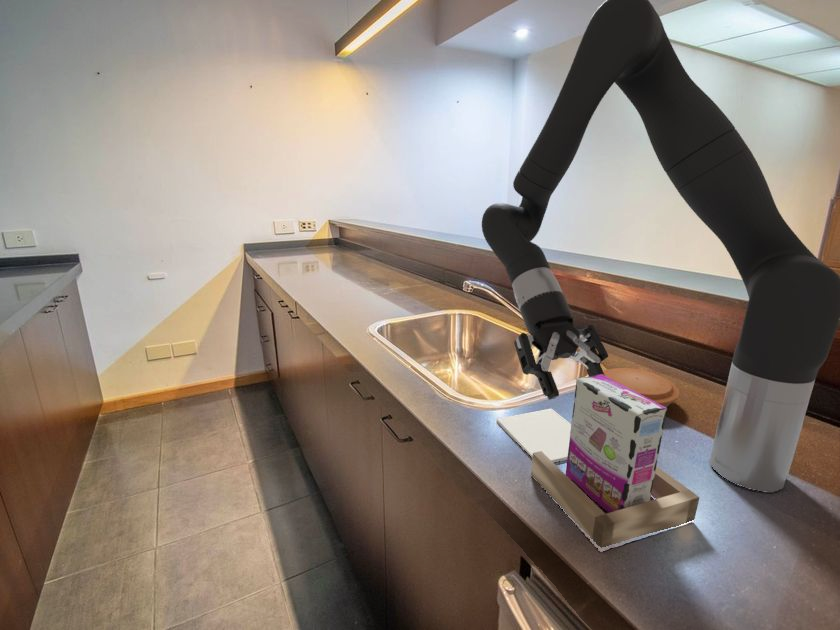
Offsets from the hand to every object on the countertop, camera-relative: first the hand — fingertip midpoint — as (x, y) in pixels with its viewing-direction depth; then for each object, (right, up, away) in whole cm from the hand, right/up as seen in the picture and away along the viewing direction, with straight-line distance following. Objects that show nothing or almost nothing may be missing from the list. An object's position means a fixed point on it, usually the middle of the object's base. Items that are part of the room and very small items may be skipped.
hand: (578, 393), depth 63 cm
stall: (+2, -14, -3) cm, 14 cm away
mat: (-2, -10, +11) cm, 15 cm away
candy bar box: (+2, -14, -3) cm, 15 cm away
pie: (+20, -6, +24) cm, 32 cm away
